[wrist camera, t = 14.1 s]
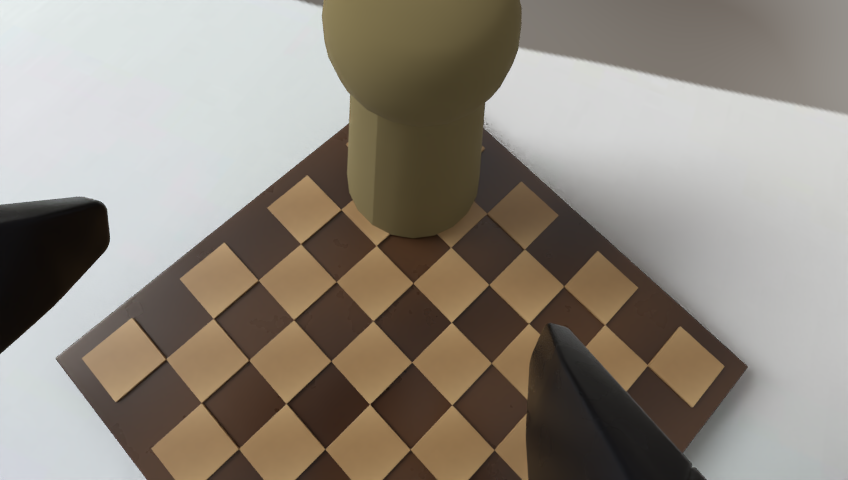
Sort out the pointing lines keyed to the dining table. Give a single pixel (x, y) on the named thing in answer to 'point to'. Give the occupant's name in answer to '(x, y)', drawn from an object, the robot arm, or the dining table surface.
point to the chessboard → (381, 337)
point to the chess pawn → (418, 102)
